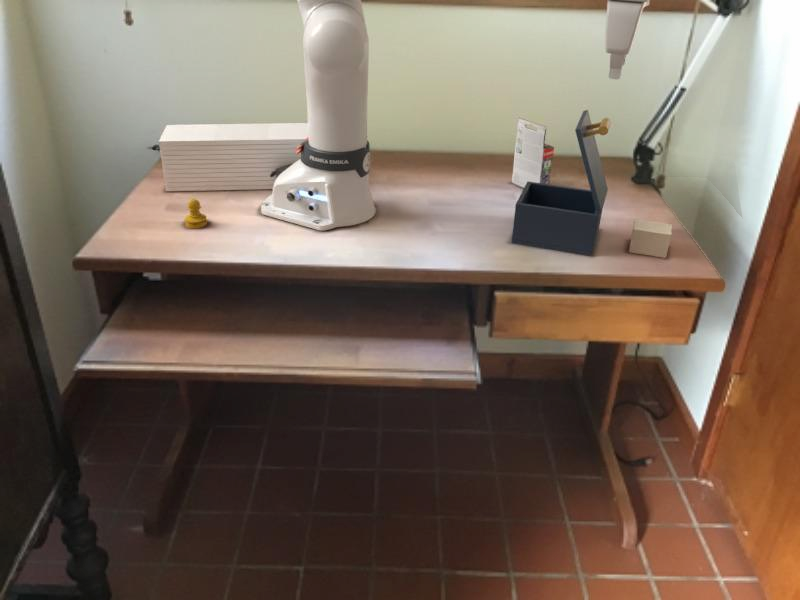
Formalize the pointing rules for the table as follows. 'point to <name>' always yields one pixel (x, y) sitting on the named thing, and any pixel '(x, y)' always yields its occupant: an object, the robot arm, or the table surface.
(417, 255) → the table surface
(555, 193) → the chest
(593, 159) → the lid
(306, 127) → the white ribbed box
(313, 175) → the robot arm
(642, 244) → the cream box
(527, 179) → the ink box
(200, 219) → the chess piece
